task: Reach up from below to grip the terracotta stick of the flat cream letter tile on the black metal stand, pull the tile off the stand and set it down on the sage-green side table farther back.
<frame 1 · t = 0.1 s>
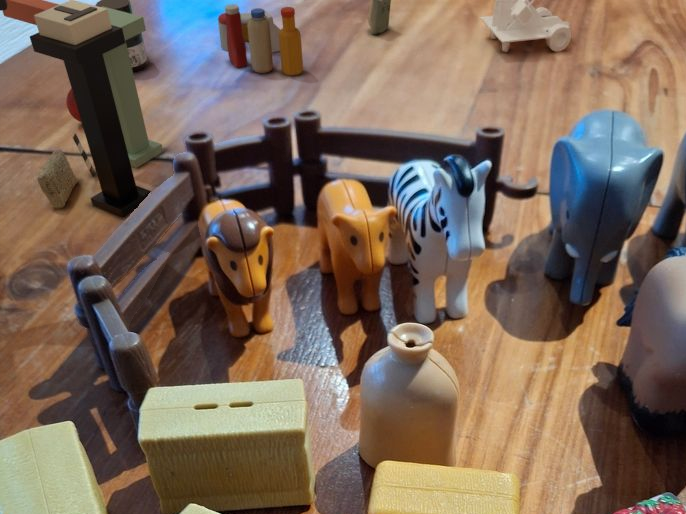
tall stand: (122, 202, 121), on the table
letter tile: (76, 31, 101), point 26 cm above the table, touching tall stand
onion: (89, 125, 139), on the table
olive upright narrow post: (379, 33, 167), on the table
ink bottle: (127, 67, 156), on the table
catapult: (526, 44, 162), on the table
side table: (135, 155, 131), on the table
toy food: (257, 57, 159), on the table
cuneiform tablet: (71, 191, 124), on the table
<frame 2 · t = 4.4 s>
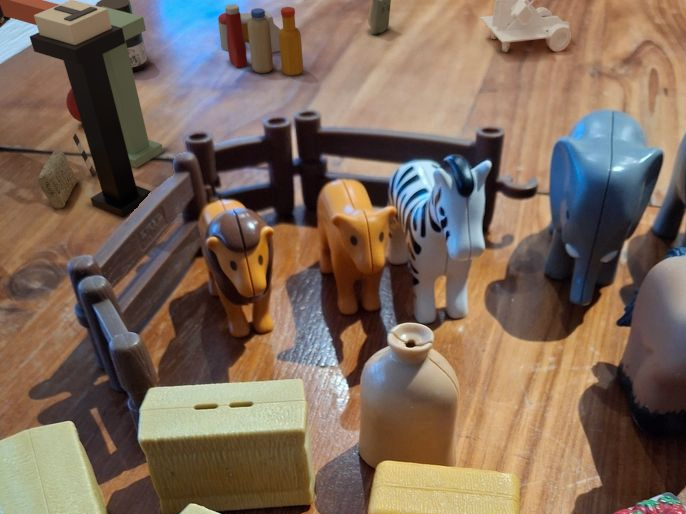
nothing on the table moved.
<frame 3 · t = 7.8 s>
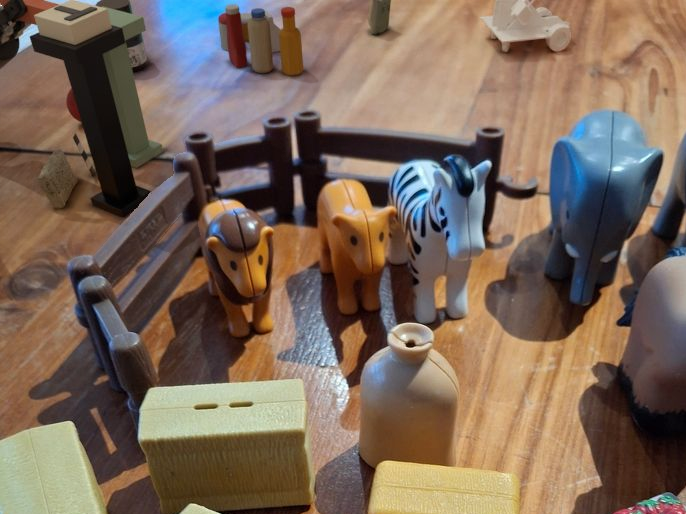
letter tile: (76, 31, 101), point 26 cm above the table, touching gripper, tall stand
everything else where it was.
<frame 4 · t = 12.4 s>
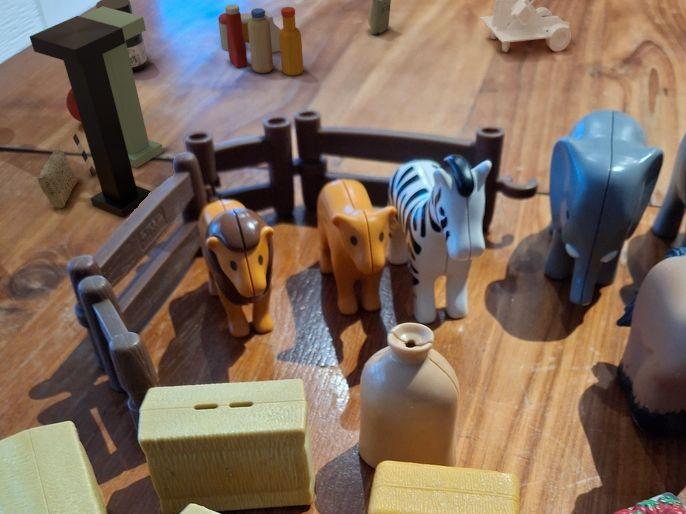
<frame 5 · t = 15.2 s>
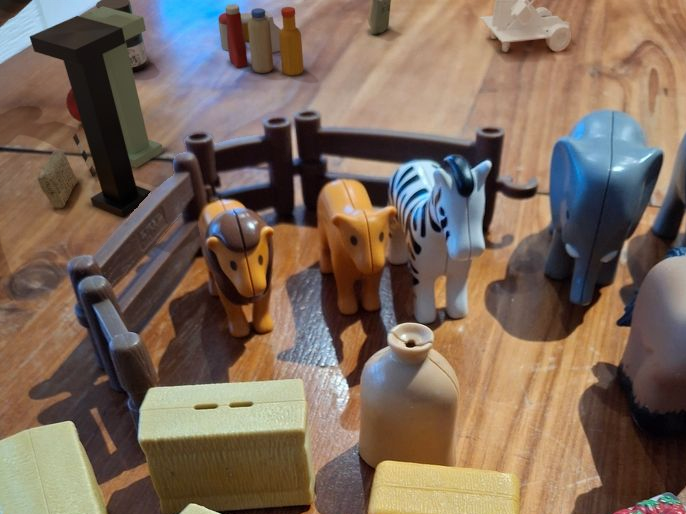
when the fingers open (25 cm above the table, at t = 17.2 s): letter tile stays where it is, resting on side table.
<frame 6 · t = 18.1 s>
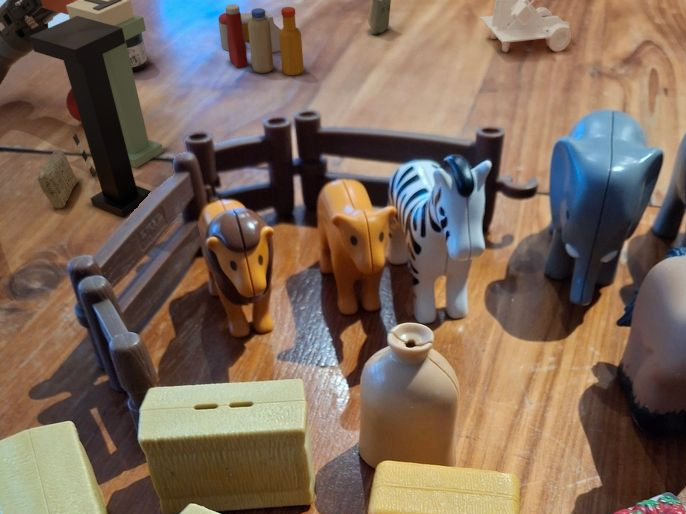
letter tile: (102, 20, 114), point 22 cm above the table, touching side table
everything else where it was.
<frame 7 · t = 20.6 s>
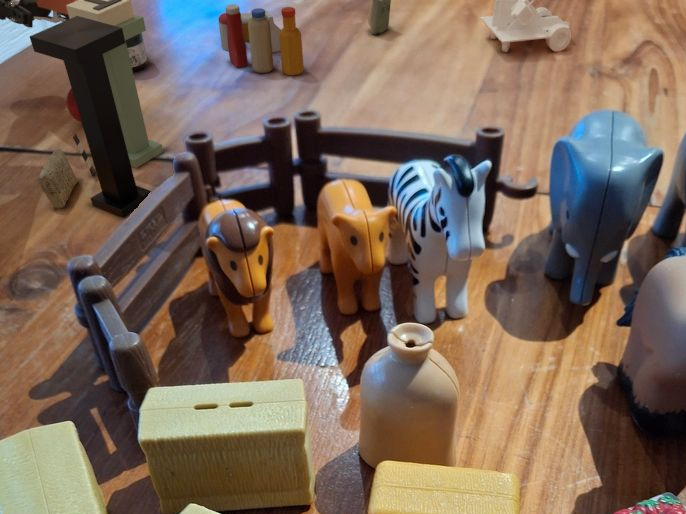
hand: (55, 21, 118), 21 cm above the table, tool horizontal, fingers open, 8 cm apart
nothing on the table moved.
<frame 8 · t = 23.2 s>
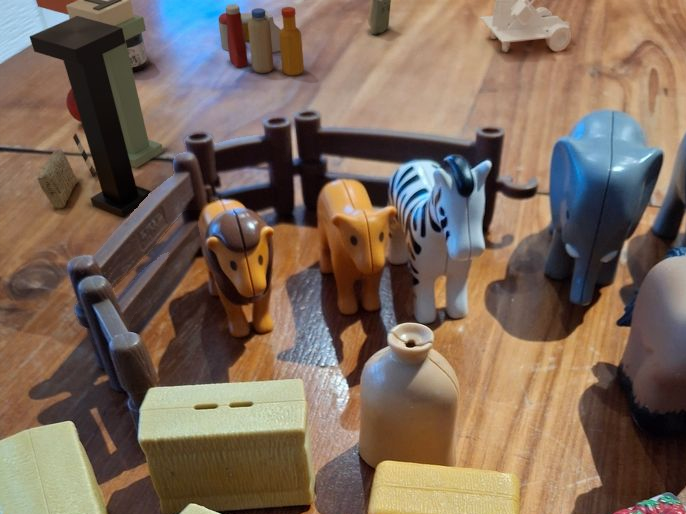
nothing on the table moved.
at the end: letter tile inside the target area on the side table (0.1 cm from its centre), point 22.0 cm above the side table's base; the gripper is holding nothing; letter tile tilted 0° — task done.
